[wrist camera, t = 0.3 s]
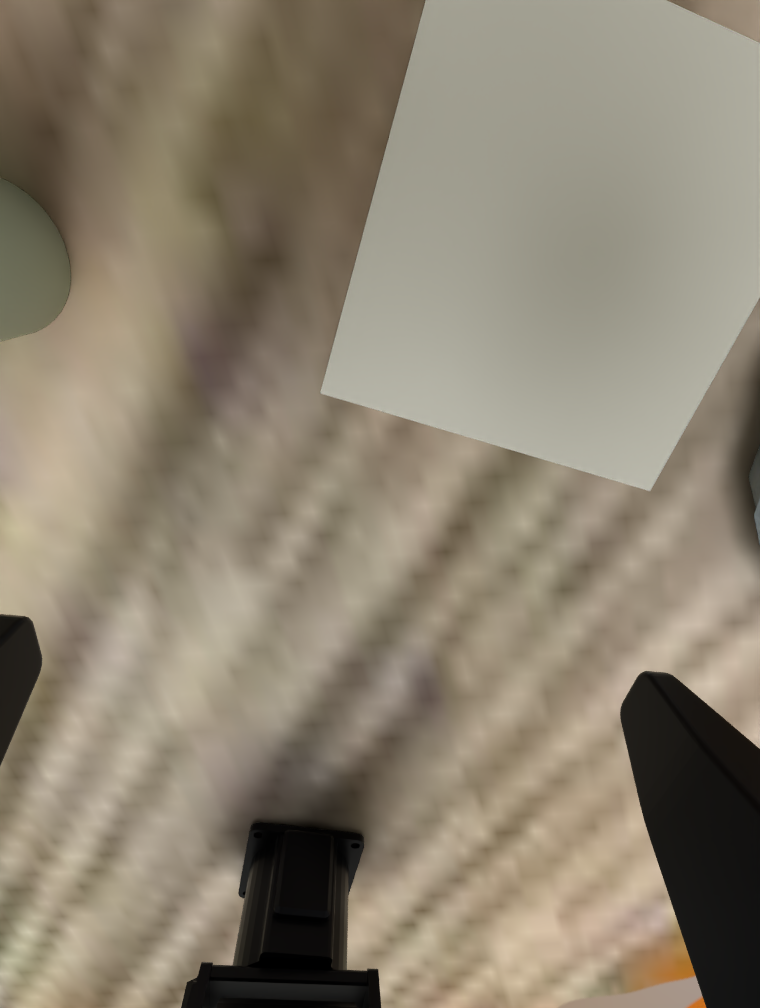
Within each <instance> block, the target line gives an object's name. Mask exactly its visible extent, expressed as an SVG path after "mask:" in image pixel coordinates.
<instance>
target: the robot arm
mask: <svg viewBox="0 0 760 1008" xmlns="http://www.w3.org/2000/svg"><path fill="white" fill-rule="evenodd" d="M41 667H42V654H41V650H40V647H39V643H38V639H37V636H36V632H35V628H34V625H33V622H32V621H31V620H30V619H29V618H28V617H25V616H16V615H5V614H0V765H1V763H2V761H3V759H4V756H5V754H6V752H7V749H8V747H9V745H10V742H11V740H12V737H13V735H14V733H15V730H16V728H17V726H18V723H19V721H20V719H21V716H22V714H23V712H24V709H25V707H26V704H27V702H28V700H29V697H30V695H31V693H32V690H33V688H34V686H35V683H36V681H37V679H38V676H39V674H40V671H41ZM620 716H621V723H622V727H623V732H624V736H625V741H626V745H627V749H628V754H629V758H630V762H631V767H632V771H633V775H634V780H635V784H636V788H637V793H638V797H639V802H640V806H641V809H642V813H643V817H644V821H645V824H646V827H647V830H648V834H649V837H650V840H651V843H652V846H653V849H654V852H655V855H656V858H657V861H658V864H659V867H660V870H661V873H662V876H663V879H664V882H665V885H666V888H667V891H668V894H669V897H670V900H671V903H672V906H673V909H674V912H675V915H676V918H677V921H678V924H679V927H680V930H681V933H682V936H683V939H684V942H685V945H686V948H687V951H688V954H689V957H690V960H691V963H692V966H693V969H694V972H695V975H696V978H697V981H698V984H699V986H700V989H701V992H702V996H703V999H704V1002H705V1005H706V1008H760V749H759V748H758V747H757V746H756V745H754V744H753V743H752V742H751V741H750V740H749V739H747V738H746V737H745V736H744V735H743V734H741V733H740V732H739V731H738V730H737V729H736V728H734V727H733V726H732V725H731V724H730V723H729V722H727V721H726V720H725V719H724V718H723V717H721V716H720V715H719V714H718V713H717V712H716V711H714V710H713V709H712V708H711V707H710V706H708V705H707V704H706V703H705V702H704V701H703V700H701V699H700V698H699V697H698V696H697V695H695V694H694V693H693V692H692V691H691V690H690V689H688V688H687V687H686V686H685V685H684V684H683V683H681V682H680V681H679V680H678V679H677V678H675V677H674V676H673V675H671V674H668V673H663V672H651V671H644V672H642V673H641V674H639V676H638V677H637V679H636V680H635V682H634V684H633V686H632V687H631V689H630V691H629V693H628V694H627V696H626V698H625V699H624V701H623V703H622V706H621V712H620ZM363 848H364V837H363V836H362V835H361V834H358V833H349V832H340V831H331V830H322V829H313V828H304V827H295V826H286V825H277V824H268V823H254V824H253V825H251V827H250V832H249V837H248V843H247V849H246V854H245V860H244V865H243V871H242V876H241V882H240V887H239V896H240V897H242V898H245V899H244V905H243V911H242V916H241V922H240V927H239V933H238V938H237V944H236V950H235V955H234V961H233V966H228V965H213V963H212V962H202V963H201V967H200V970H199V974H198V976H197V978H195V979H193V980H191V981H189V982H187V985H186V989H185V994H184V998H183V1002H182V1006H181V1008H381V1000H380V987H379V974H378V969H367V971H358V970H347V931H348V895H349V892H350V889H351V885H352V882H353V879H354V876H355V873H356V870H357V867H358V864H359V861H360V857H361V854H362V851H363Z"/></svg>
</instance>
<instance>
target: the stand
mask: <svg viewBox="0 0 760 1008" xmlns="http://www.w3.org/2000/svg"><path fill="white" fill-rule="evenodd" d="M759 298H760V43H759V42H757V41H755V40H752V39H750V38H748V37H746V36H744V35H741V34H739V33H737V32H735V31H733V30H730V29H728V28H726V27H724V26H722V25H720V24H717V23H715V22H713V21H711V20H709V19H706V18H704V17H702V16H700V15H698V14H695V13H693V12H691V11H689V10H687V9H684V8H682V7H680V6H678V5H676V4H674V3H671V2H669V1H667V0H426V1H425V5H424V9H423V12H422V16H421V20H420V23H419V27H418V31H417V35H416V38H415V42H414V46H413V49H412V53H411V57H410V61H409V64H408V68H407V72H406V76H405V79H404V83H403V87H402V90H401V94H400V98H399V102H398V105H397V109H396V113H395V117H394V120H393V124H392V128H391V131H390V135H389V139H388V143H387V146H386V150H385V154H384V157H383V161H382V165H381V169H380V172H379V176H378V180H377V184H376V187H375V191H374V195H373V198H372V202H371V206H370V210H369V213H368V217H367V221H366V225H365V228H364V232H363V236H362V239H361V243H360V247H359V251H358V254H357V258H356V262H355V265H354V269H353V273H352V277H351V280H350V284H349V288H348V292H347V295H346V299H345V303H344V306H343V310H342V314H341V318H340V321H339V325H338V329H337V333H336V336H335V340H334V344H333V347H332V351H331V355H330V359H329V362H328V366H327V370H326V373H325V377H324V381H323V385H322V388H321V392H320V393H321V394H324V395H328V396H331V397H334V398H338V399H341V400H344V401H348V402H351V403H355V404H358V405H361V406H365V407H368V408H371V409H375V410H378V411H382V412H385V413H388V414H392V415H395V416H398V417H402V418H405V419H408V420H412V421H415V422H419V423H422V424H425V425H429V426H432V427H435V428H439V429H442V430H446V431H449V432H452V433H456V434H459V435H462V436H466V437H469V438H472V439H476V440H479V441H483V442H486V443H489V444H493V445H496V446H499V447H503V448H506V449H510V450H513V451H516V452H520V453H523V454H526V455H530V456H533V457H536V458H540V459H543V460H547V461H550V462H553V463H557V464H560V465H563V466H567V467H570V468H574V469H577V470H580V471H584V472H587V473H590V474H594V475H597V476H600V477H604V478H607V479H611V480H614V481H617V482H621V483H624V484H627V485H631V486H634V487H638V488H641V489H644V490H648V491H650V490H651V488H652V487H653V485H654V483H655V481H656V480H657V478H658V476H659V474H660V473H661V471H662V469H663V467H664V465H665V464H666V462H667V460H668V458H669V457H670V455H671V453H672V451H673V450H674V448H675V446H676V444H677V443H678V441H679V439H680V437H681V435H682V434H683V432H684V430H685V428H686V427H687V425H688V423H689V421H690V420H691V418H692V416H693V414H694V413H695V411H696V409H697V407H698V406H699V404H700V402H701V400H702V398H703V397H704V395H705V393H706V391H707V390H708V388H709V386H710V384H711V383H712V381H713V379H714V377H715V376H716V374H717V372H718V370H719V368H720V367H721V365H722V363H723V361H724V360H725V358H726V356H727V354H728V353H729V351H730V349H731V347H732V346H733V344H734V342H735V340H736V338H737V337H738V335H739V333H740V331H741V330H742V328H743V326H744V324H745V323H746V321H747V319H748V317H749V316H750V314H751V312H752V310H753V308H754V307H755V305H756V303H757V301H758V300H759Z"/></svg>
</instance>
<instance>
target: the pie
mask: <svg viewBox="0 0 760 1008" xmlns="http://www.w3.org/2000/svg"><path fill="white" fill-rule="evenodd" d="M749 481H750V485H751V490H752V494H753V498H754V502H755V507H756V511H755V514H754V518H755V523H756V528H757V533H758V538H759V544H760V445H759V448H758V451H757V454H756V457H755V460H754V462H753V465H752V468H751V471H750V474H749Z"/></svg>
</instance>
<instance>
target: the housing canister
mask: <svg viewBox="0 0 760 1008" xmlns="http://www.w3.org/2000/svg"><path fill="white" fill-rule="evenodd" d="M70 281H71V272H70V263H69V258H68V254H67V251H66V247H65V244H64V242H63V240H62V237H61V235H60V233H59V231H58V230H57V228H56V226H55V224H54V223H53V221H52V220H51V218H50V217H49V216H48V214H47V213H46V212H45V211H44V210H43V208H42V207H41V206H40V205H39V204H38V203H37V202H36V201H35V200H34V199H33V198H32V197H31V196H29V195H28V194H27V193H26V192H24V191H23V190H22V189H20V188H19V187H17V186H15V185H14V184H12V183H10V182H9V181H6V180H4V179H2V178H0V342H1V341H4V340H8V339H12V338H16V337H19V336H23V335H27V334H30V333H34V332H37V331H39V330H41V329H43V328H45V327H46V326H48V325H49V324H50V323H51V322H53V321H54V320H55V319H56V318H57V316H58V315H59V314H60V312H61V311H62V309H63V307H64V305H65V304H66V301H67V298H68V295H69V290H70Z"/></svg>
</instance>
